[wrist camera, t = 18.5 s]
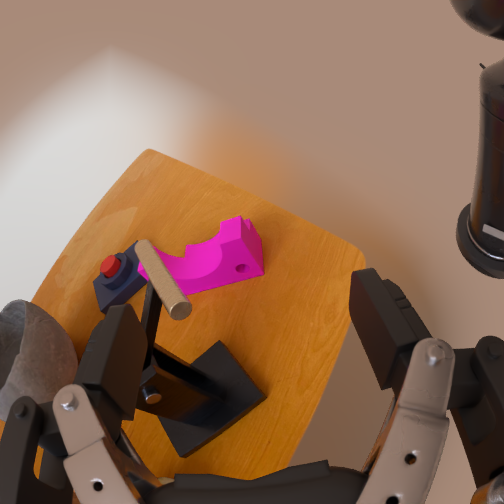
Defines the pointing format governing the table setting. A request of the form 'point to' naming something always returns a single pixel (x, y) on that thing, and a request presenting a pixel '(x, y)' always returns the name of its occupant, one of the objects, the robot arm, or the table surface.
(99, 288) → the button box
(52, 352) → the bowl
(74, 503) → the stuffed squirrel
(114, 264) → the button
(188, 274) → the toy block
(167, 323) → the table surface
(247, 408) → the bracket
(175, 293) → the lever
